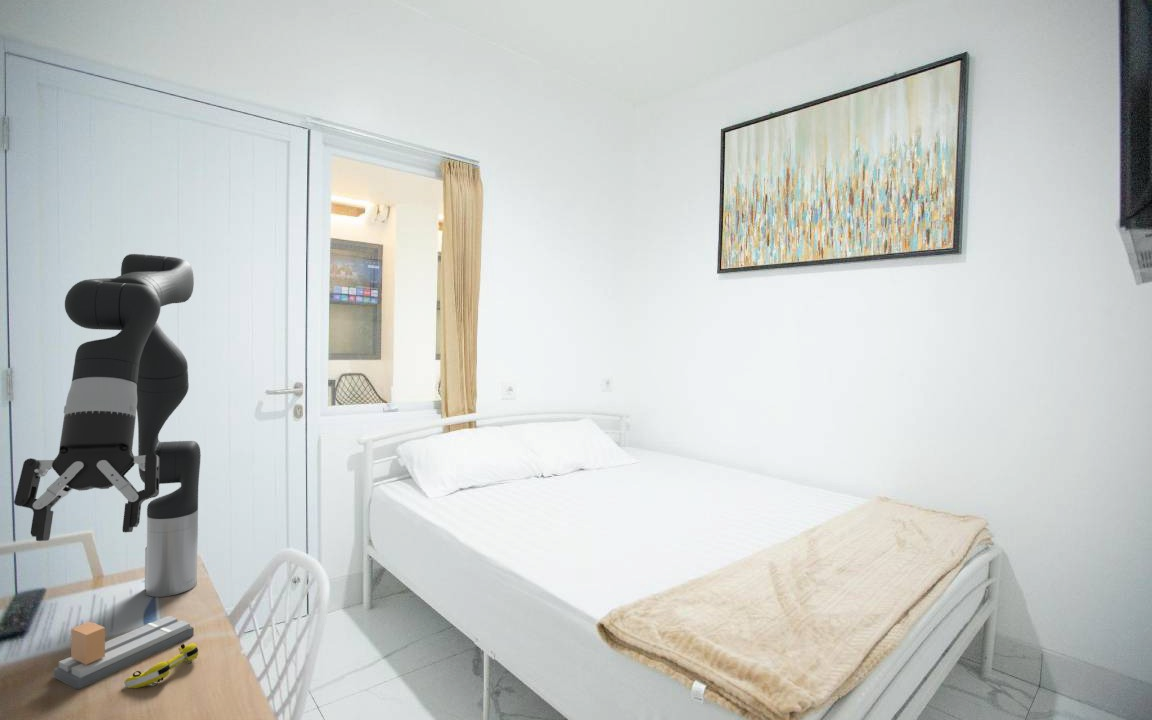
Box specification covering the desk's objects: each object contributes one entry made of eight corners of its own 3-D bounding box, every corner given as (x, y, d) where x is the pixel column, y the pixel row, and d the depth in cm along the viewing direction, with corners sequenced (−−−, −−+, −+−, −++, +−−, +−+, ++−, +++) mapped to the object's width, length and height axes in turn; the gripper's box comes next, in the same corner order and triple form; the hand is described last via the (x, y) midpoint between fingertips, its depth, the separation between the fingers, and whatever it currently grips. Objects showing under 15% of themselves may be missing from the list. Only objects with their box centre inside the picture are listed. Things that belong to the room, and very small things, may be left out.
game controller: (157, 689, 87) (151, 668, 87) (128, 697, 88) (121, 676, 88) (211, 655, 97) (205, 636, 97) (183, 662, 98) (178, 644, 98)
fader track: (77, 689, 87) (77, 673, 87) (53, 677, 90) (54, 662, 90) (193, 635, 104) (193, 621, 104) (170, 626, 107) (170, 613, 106)
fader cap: (86, 671, 89) (86, 635, 89) (71, 664, 91) (71, 628, 91) (104, 662, 92) (105, 627, 91) (89, 656, 93) (90, 621, 93)
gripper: (169, 419, 82) (159, 530, 77) (43, 422, 75) (23, 544, 71) (159, 407, 75) (147, 528, 71) (20, 409, 69) (-3, 543, 64)
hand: (85, 536), depth 71 cm, fingers open, 8 cm apart
